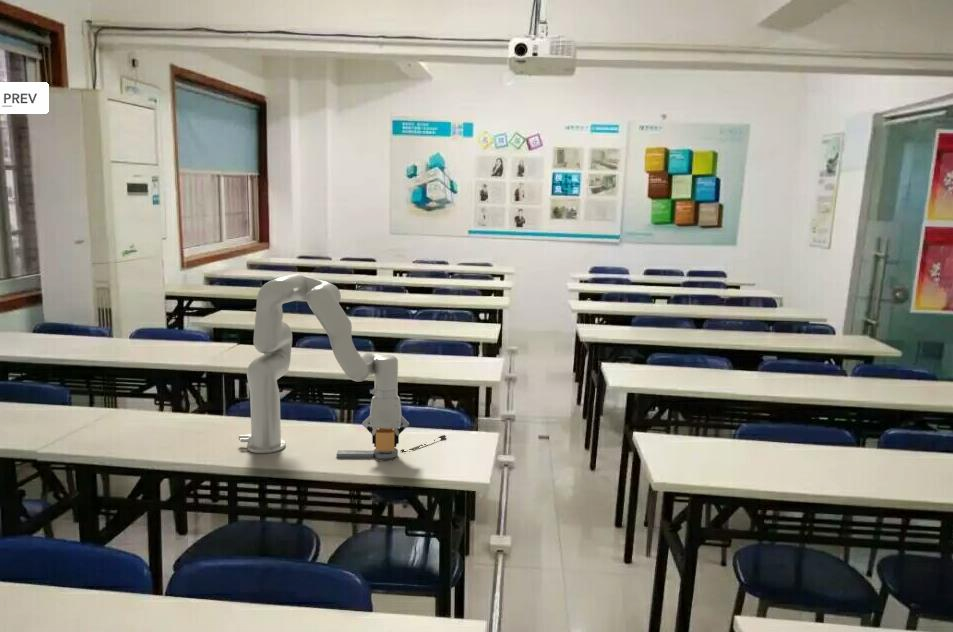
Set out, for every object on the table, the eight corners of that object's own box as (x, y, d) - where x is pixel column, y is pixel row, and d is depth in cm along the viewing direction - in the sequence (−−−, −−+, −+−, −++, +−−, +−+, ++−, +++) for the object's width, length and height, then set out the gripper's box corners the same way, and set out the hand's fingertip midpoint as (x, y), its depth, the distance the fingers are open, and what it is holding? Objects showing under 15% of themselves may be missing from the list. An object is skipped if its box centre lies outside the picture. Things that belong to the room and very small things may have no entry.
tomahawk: (412, 459, 223) (412, 456, 223) (399, 453, 227) (399, 450, 227) (456, 443, 238) (456, 440, 238) (442, 437, 243) (443, 434, 242)
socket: (375, 450, 219) (375, 433, 218) (377, 444, 225) (377, 426, 224) (394, 450, 219) (394, 433, 218) (395, 444, 225) (395, 427, 224)
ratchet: (335, 460, 217) (335, 440, 216) (338, 451, 225) (338, 432, 224) (397, 461, 219) (397, 440, 217) (398, 452, 226) (398, 432, 225)
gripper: (358, 396, 214) (358, 449, 217) (412, 396, 215) (411, 449, 219) (360, 389, 222) (360, 441, 225) (412, 390, 223) (411, 441, 226)
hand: (385, 445), depth 222 cm, fingers closed on socket, 5 cm apart
